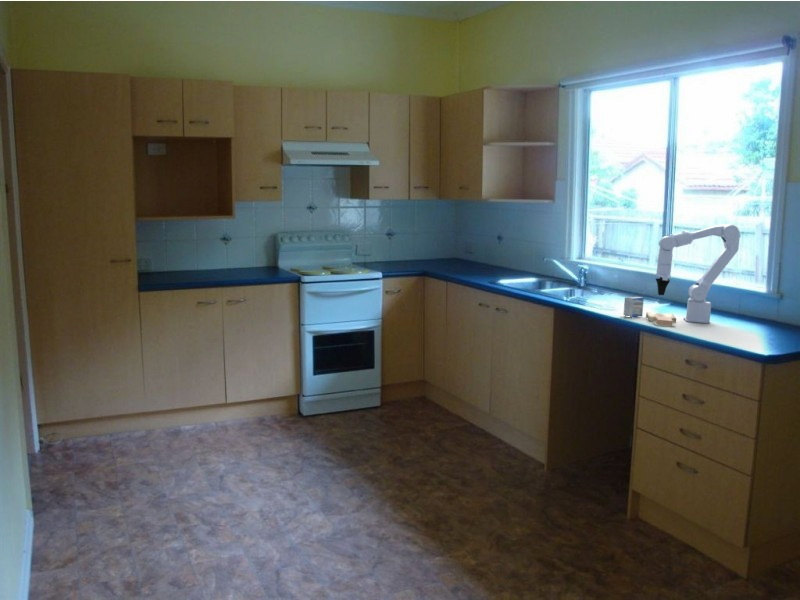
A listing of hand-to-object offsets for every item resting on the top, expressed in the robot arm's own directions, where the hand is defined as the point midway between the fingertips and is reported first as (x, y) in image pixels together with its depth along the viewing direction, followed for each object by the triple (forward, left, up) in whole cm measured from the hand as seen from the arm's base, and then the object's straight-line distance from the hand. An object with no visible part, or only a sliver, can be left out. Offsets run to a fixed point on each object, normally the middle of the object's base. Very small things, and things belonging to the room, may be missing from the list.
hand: (660, 295), depth 319 cm
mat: (0, +14, -10) cm, 18 cm away
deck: (0, +4, -10) cm, 11 cm away
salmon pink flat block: (0, +14, -10) cm, 17 cm away
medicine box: (+11, 0, -11) cm, 15 cm away
